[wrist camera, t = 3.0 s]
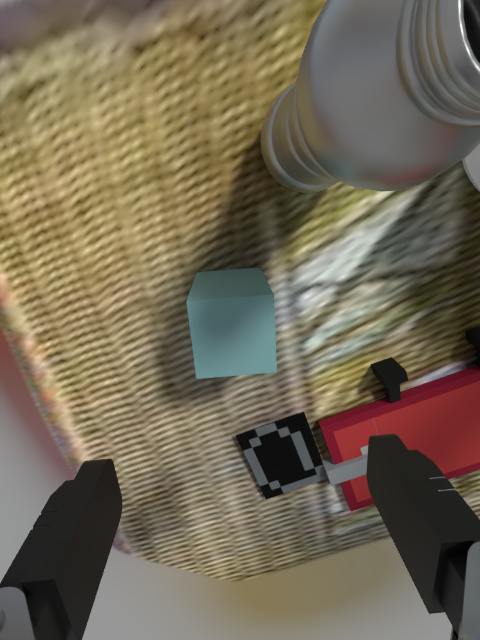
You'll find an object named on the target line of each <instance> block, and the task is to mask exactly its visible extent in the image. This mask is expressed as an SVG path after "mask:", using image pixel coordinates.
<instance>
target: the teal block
mask: <svg viewBox="0 0 480 640" xmlns="http://www.w3.org/2000/svg"><path fill="white" fill-rule="evenodd" d="M186 304H187V311H188V319H189V327H190V334H191V342H192V350H193V357H194V365H195V373H196V379H202V378H214V377H225V376H237V375H249V374H261V373H272V372H277V363H276V338H275V313H274V294H273V292H272V290H271V288H270V286H269V284H268V282H267V280H266V278H265V276H264V274H263V272H262V270H261V268H260V267H255V268H243V269H230V270H218V271H205V272H197V273H196V276H195V278H194V281H193V284H192V287H191V290H190V292H189V295H188V298H187V301H186Z"/></svg>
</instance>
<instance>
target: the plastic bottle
mask: <svg viewBox="0 0 480 640" xmlns="http://www.w3.org/2000/svg"><path fill="white" fill-rule="evenodd" d="M479 144H480V0H327V2H326V3H325V5H324V7H323V9H322V10H321V12H320V14H319V16H318V17H317V19H316V21H315V23H314V25H313V28H312V30H311V33H310V36H309V38H308V41H307V44H306V46H305V49H304V52H303V54H302V57H301V60H300V65H299V70H298V75H297V80H296V82H294V83H293V84H291V85H290V86H289V87H287V88H286V89H285V90H284V91H282V92H281V93H280V94H279V95H278V97H277V98H276V99H275V100H274V101H273V103H272V104H271V106H270V108H269V110H268V111H267V113H266V116H265V119H264V122H263V125H262V131H261V151H262V156H263V160H264V162H265V165H266V167H267V169H268V171H269V172H270V174H271V175H272V176H273V178H274V179H275V180H276V181H277V182H278V183H280V184H281V185H283V186H284V187H286V188H287V189H290V190H293V191H295V192H301V193H314V192H318V191H322V190H325V189H327V188H329V187H331V186H333V185H335V184H337V183H339V182H343V183H345V184H348V185H350V186H353V187H356V188H362V189H369V190H375V191H396V190H403V189H406V188H410V187H414V186H417V185H420V184H422V183H424V182H426V181H428V180H430V179H433V178H435V177H437V176H438V175H440V174H442V173H443V172H445V171H446V170H448V169H449V168H451V167H452V166H454V165H455V164H457V163H458V162H459V161H461V160H462V159H464V158H465V157H467V156H468V155H469V154H470V153H471V152H472V151H473V150H474V149H475V148H476V147H477V146H478V145H479Z"/></svg>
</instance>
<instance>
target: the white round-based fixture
mask: <svg viewBox="0 0 480 640" xmlns="http://www.w3.org/2000/svg"><path fill="white" fill-rule="evenodd" d="M462 162H463V166H464V169H465V171H466V174H467V175H468V177H469V179H470V181H471V182H472V184H473V185H474V186H475V187H476V188H477V190H478V191H480V144H479V145H478V146H477V147H476V148H475V149H474V150H473V151H472V152H471V153H470V154H469V155H468V156H467V157H465V158H464V159H462Z"/></svg>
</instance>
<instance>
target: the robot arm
mask: <svg viewBox="0 0 480 640" xmlns="http://www.w3.org/2000/svg"><path fill="white" fill-rule="evenodd" d="M366 476H367V484H368V488H369V492H370V494H371V497H372V499H373V501H374V503H375V505H376V507H377V509H378V511H379V513H380V515H381V517H382V519H383V521H384V523H385V525H386V527H387V529H388V531H389V533H390V535H391V537H392V539H393V541H394V543H395V545H396V547H397V549H398V551H399V553H400V555H401V558H402V559H403V562H404V564H405V566H406V568H407V570H408V572H409V573H410V576H411V578H412V580H413V582H414V584H415V586H416V588H417V590H418V592H419V594H420V596H421V598H422V600H423V602H424V604H425V606H426V608H427V610H428V612H429V614H431V613H441V612H445V613H446V615H447V617H448V619H449V620H450V622H451V624H452V631H451V638H450V640H480V520H479V518H478V517H477V516H476V515H475V513H474V512H473V511H472V510H471V508H470V507H469V506H468V504H467V503H466V502H465V501H464V499H463V498H462V497H461V496H460V494H459V493H458V492H457V491H455V490H454V487H453V486H452V484H451V483H450V482H449V480H448V479H446V478H445V475H444V474H443V473H442V472H441V470H440V469H439V468H438V467H437V465H436V464H435V463H434V462H433V461H432V460H431V459H429V458H428V457H427V456H425V455H424V454H422V453H421V452H420V451H418V450H417V449H416V450H408V449H407V447H406V446H405V445H404V443H403V442H402V441H401V439H400V438H399V437H398V435H396V434H385V435H374V436H370V437H369V442H368V457H367V472H366ZM121 513H122V496H121V491H120V487H119V483H118V479H117V475H116V471H115V467H114V463H113V461H112V460H111V459H101V460H90V461H85V462H84V463H83V464H82V466H81V468H80V469H79V471H78V473H77V475H76V477H75V479H74V480H69V481H65V482H64V483H63V484H62V485H61V486H60V487H59V488H58V489H57V490H56V491H55V492H54V493H53V494H52V495H51V496H50V498H49V500H48V501H47V503H46V505H45V507H44V508H43V510H42V512H41V515H40V516H39V517H38V519H37V521H36V522H35V524H34V526H33V530H31V531H30V533H29V534H28V536H27V538H26V540H25V541H24V543H23V545H22V546H21V548H20V550H19V552H18V554H17V555H16V557H15V559H14V560H13V562H12V564H11V566H10V567H9V569H8V571H7V573H6V574H5V576H4V578H3V580H2V581H1V583H0V640H82V638H83V635H84V631H85V628H86V625H87V622H88V619H89V615H90V612H91V609H92V606H93V603H94V600H95V597H96V593H97V590H98V587H99V584H100V581H101V578H102V575H103V572H104V568H105V565H106V562H107V559H108V556H109V553H110V550H111V547H112V543H113V540H114V537H115V534H116V531H117V528H118V525H119V522H120V518H121Z"/></svg>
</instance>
